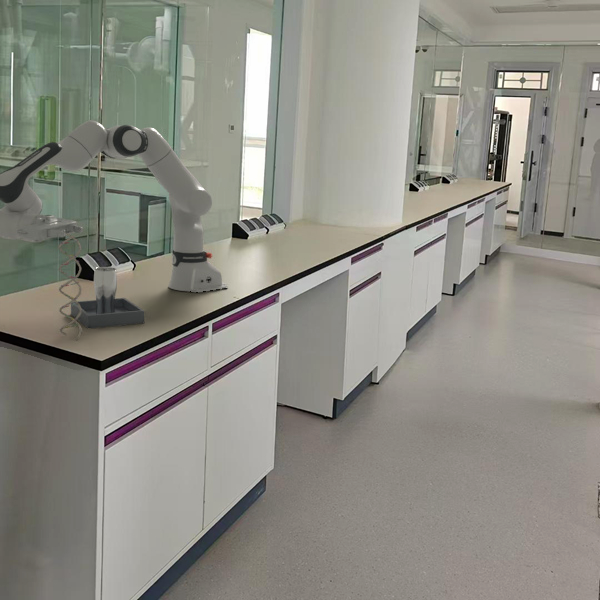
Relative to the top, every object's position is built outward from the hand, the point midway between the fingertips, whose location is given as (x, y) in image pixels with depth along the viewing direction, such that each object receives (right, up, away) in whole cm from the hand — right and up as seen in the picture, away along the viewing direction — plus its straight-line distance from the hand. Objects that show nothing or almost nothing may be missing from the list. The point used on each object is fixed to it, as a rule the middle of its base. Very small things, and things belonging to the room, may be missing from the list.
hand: (73, 232), depth 226 cm
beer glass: (+9, -26, +2) cm, 28 cm away
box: (+10, -27, +3) cm, 29 cm away
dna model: (+5, -32, -19) cm, 37 cm away
